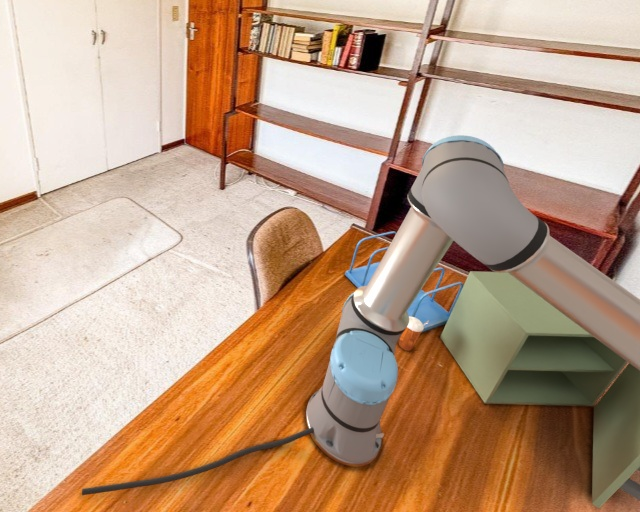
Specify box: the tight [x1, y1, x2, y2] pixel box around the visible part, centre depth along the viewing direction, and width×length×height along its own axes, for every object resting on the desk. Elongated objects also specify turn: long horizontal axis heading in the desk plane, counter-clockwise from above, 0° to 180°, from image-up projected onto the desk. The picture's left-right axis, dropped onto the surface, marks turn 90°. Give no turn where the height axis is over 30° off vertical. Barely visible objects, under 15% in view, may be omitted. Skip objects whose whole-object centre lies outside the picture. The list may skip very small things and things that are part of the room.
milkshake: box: [398, 316, 429, 351], centre depth 103 cm, size 4×5×10 cm
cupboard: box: [440, 270, 629, 407], centre depth 95 cm, size 18×26×24 cm
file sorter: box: [344, 230, 464, 333], centre depth 117 cm, size 25×17×15 cm
